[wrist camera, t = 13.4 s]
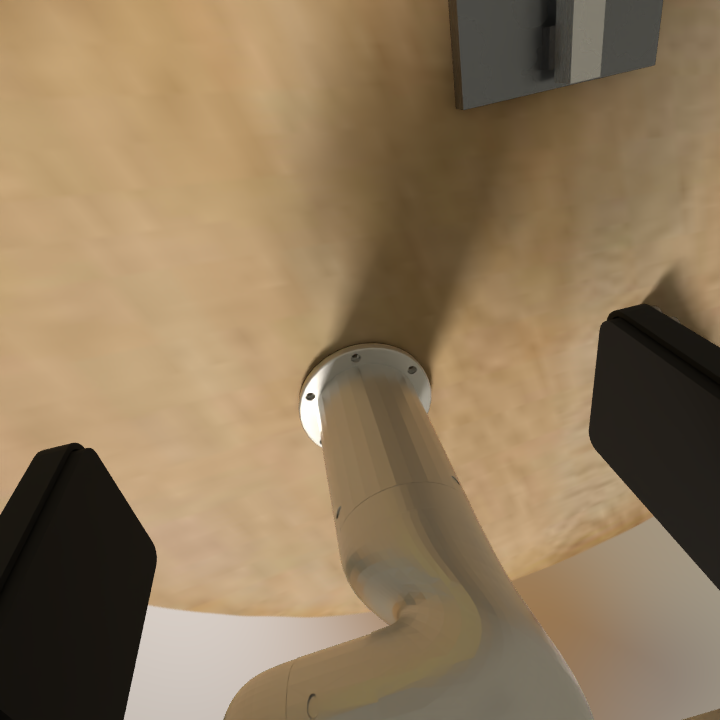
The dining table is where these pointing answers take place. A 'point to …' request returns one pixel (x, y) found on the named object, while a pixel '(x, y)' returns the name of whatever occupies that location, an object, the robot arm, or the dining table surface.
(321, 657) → the robot arm
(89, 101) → the dining table surface
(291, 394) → the dining table surface
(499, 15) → the stand
